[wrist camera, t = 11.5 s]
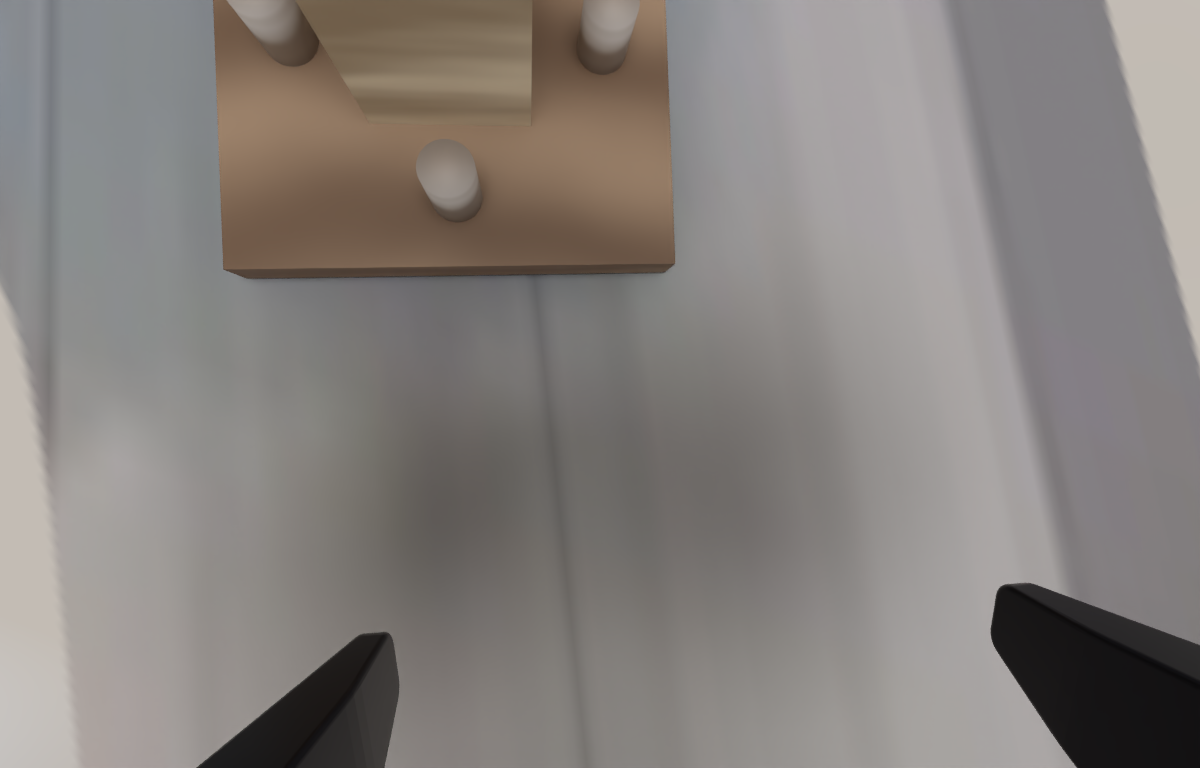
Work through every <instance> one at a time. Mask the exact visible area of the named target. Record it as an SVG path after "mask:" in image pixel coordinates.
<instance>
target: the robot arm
mask: <svg viewBox="0 0 1200 768" xmlns="http://www.w3.org/2000/svg"><path fill="white" fill-rule="evenodd" d="M991 638H992V642H993V645H994V647H995V649H996V651H997V652H998V654H999V655H1000V657H1001V658H1002V660H1003V661H1004V663H1005V664H1006V666H1007V667H1008V669H1009V670H1010V672H1011V673H1012V675H1013V676H1014V678H1015V679H1016V681H1017V682H1018V684H1019V685H1020V687H1021V688H1022V690H1023V691H1024V693H1025V694H1026V696H1027V697H1028V699H1029V700H1030V702H1031V703H1032V705H1033V706H1034V708H1035V709H1036V711H1037V712H1038V714H1039V715H1040V717H1041V718H1042V720H1043V721H1044V723H1045V724H1046V726H1047V727H1048V729H1049V730H1050V732H1051V733H1052V734H1053V736H1054V737H1055V739H1056V740H1057V742H1058V743H1059V744H1060V746H1061V747H1062V749H1063V750H1064V751H1065V753H1066V754H1067V755H1068V757H1069V758H1070V759H1071V761H1072V762H1073V763H1074V765H1075V766H1076V767H1077V768H1200V645H1198V644H1195V643H1193V642H1190V641H1187V640H1184V639H1182V638H1179V637H1176V636H1174V635H1171V634H1168V633H1165V632H1163V631H1160V630H1157V629H1155V628H1152V627H1149V626H1146V625H1144V624H1141V623H1138V622H1136V621H1133V620H1130V619H1127V618H1125V617H1122V616H1119V615H1116V614H1114V613H1111V612H1108V611H1106V610H1103V609H1100V608H1097V607H1095V606H1092V605H1089V604H1087V603H1084V602H1081V601H1078V600H1076V599H1073V598H1070V597H1068V596H1065V595H1062V594H1059V593H1057V592H1054V591H1051V590H1049V589H1046V588H1043V587H1040V586H1038V585H1035V584H1032V583H1017V584H1005V585H1003V586H1001V587H1000V588H999V589H998V591H997V594H996V599H995V606H994V612H993V618H992V625H991ZM398 697H399V676H398V670H397V663H396V656H395V650H394V643H393V639H392V637H391V635H390V634H389V633H387V632H379V633H366V634H361V635H359V636H357V637H356V638H355V639H353V640H352V641H351V642H350V643H349V644H347V645H346V646H345V647H344V648H342V649H341V650H340V651H339V652H338V653H336V654H335V655H334V656H333V657H331V658H330V659H329V660H328V661H326V662H325V663H324V664H323V665H322V666H320V667H319V668H318V669H317V670H315V671H314V672H313V673H312V674H311V675H309V676H308V677H307V678H306V679H304V680H303V681H302V682H301V683H300V684H298V685H297V686H296V687H295V688H293V689H292V690H291V691H290V692H289V693H287V694H286V695H285V696H284V697H282V698H281V699H280V700H279V701H277V702H276V703H275V704H274V705H273V706H271V707H270V708H269V709H268V710H266V711H265V712H264V713H263V714H262V715H260V716H259V717H258V718H257V719H255V720H254V721H253V722H252V723H251V724H249V725H248V726H247V727H246V728H244V729H243V730H242V731H241V732H240V733H238V734H237V735H236V736H235V737H233V738H232V739H231V740H230V741H228V742H227V743H226V744H225V745H224V746H222V747H221V748H220V749H219V750H217V751H216V752H215V753H214V754H213V755H211V756H210V757H209V758H208V759H206V760H205V761H204V762H203V763H202V764H200V765H199V766H198V767H197V768H384V767H385V762H386V757H387V752H388V747H389V742H390V737H391V732H392V727H393V722H394V717H395V712H396V707H397V702H398Z"/></svg>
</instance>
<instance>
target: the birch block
mask: <svg viewBox="0 0 1200 768" xmlns="http://www.w3.org/2000/svg"><path fill="white" fill-rule="evenodd" d="M295 1H296V2H297V4H298V6H299V7H300V9H301V10H302V12H303V14H304V15H305V17H306V19H307V20H308V22H309V24H310V25H311V27H312V29H313V30H314V32H315V34H316V35H317V37H318V39H319V40H320V42H321V44H322V45H323V47H324V49H325V50H326V52H327V54H328V55H329V57H330V59H331V60H332V62H333V63H334V65H335V67H336V68H337V70H338V72H339V73H340V75H341V77H342V78H343V80H344V82H345V83H346V85H347V87H348V88H349V90H350V92H351V93H352V95H353V97H354V98H355V100H356V102H357V103H358V105H359V107H360V108H361V110H362V112H363V113H364V115H365V117H366V118H367V120H368V121H369V123H370V124H426V125H483V126H531V87H532V0H295Z"/></svg>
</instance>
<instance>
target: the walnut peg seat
mask: <svg viewBox="0 0 1200 768" xmlns="http://www.w3.org/2000/svg"><path fill="white" fill-rule="evenodd" d="M213 8H214V34H215V60H216V87H217V113H218V139H219V166H220V192H221V218H222V244H223V269H224V270H226V271H229V272H231V273H234V274H237V275H239V276H242V277H244V278H314V277H380V276H447V275H514V274H581V273H647V272H666V271H667V270H668V269H669V268H670V267H672V266H673V265H674V264H675V247H674V220H673V194H672V167H671V141H670V114H669V88H668V61H667V35H666V9H665V0H532V87H531V126H483V125H426V124H370V123H369V121H368V120H367V118H366V117H365V115H364V113H363V112H362V110H361V108H360V107H359V105H358V103H357V102H356V100H355V98H354V97H353V95H352V93H351V92H350V90H349V88H348V87H347V85H346V83H345V82H344V80H343V78H342V77H341V75H340V73H339V72H338V70H337V68H336V67H335V65H334V63H333V62H332V60H331V59H330V57H329V55H328V54H327V52H326V50H325V49H324V47H323V45H322V44H321V42H320V40H319V39H318V37H317V35H316V34H315V32H314V30H313V29H312V27H311V25H310V24H309V22H308V20H307V19H306V17H305V15H304V14H303V12H302V10H301V9H300V7H299V6H298V4H297V2H296V1H295V0H213Z"/></svg>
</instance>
